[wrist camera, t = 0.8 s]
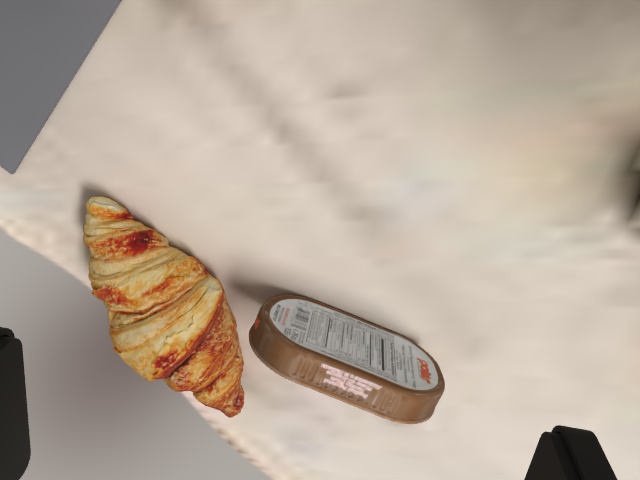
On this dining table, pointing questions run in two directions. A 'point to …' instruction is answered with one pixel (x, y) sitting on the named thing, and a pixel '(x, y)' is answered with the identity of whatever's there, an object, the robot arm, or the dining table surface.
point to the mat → (41, 63)
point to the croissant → (163, 308)
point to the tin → (347, 358)
